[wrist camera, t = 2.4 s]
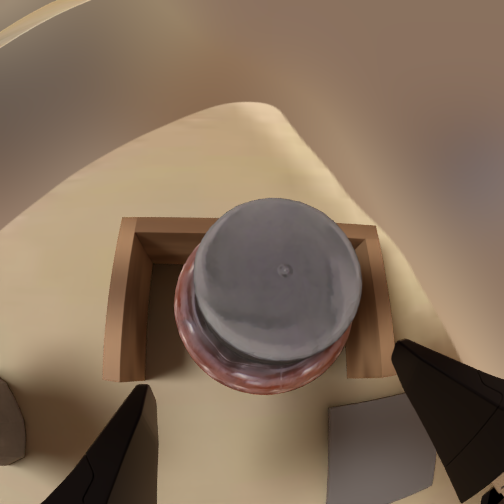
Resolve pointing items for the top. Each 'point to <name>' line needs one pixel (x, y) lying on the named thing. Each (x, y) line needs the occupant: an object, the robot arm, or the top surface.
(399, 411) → the mat
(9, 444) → the coffeepot
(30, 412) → the top surface
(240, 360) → the supplement bottle
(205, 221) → the crate
